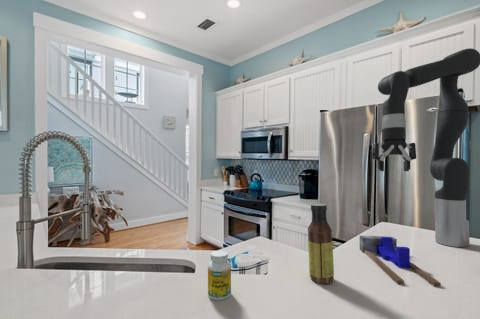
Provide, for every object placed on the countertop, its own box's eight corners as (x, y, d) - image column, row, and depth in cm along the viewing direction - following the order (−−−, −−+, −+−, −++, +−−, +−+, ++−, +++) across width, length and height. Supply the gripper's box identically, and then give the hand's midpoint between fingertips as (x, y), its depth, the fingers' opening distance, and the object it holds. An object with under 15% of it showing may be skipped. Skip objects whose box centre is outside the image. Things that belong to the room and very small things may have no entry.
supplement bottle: (228, 287, 61) (228, 248, 61) (232, 299, 56) (233, 256, 56) (206, 290, 60) (206, 250, 60) (208, 302, 55) (209, 258, 55)
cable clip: (376, 253, 86) (376, 236, 86) (390, 254, 85) (390, 236, 85) (393, 268, 74) (393, 247, 74) (409, 269, 73) (409, 248, 73)
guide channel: (392, 251, 88) (392, 236, 88) (442, 287, 62) (442, 266, 62) (359, 249, 89) (359, 235, 89) (395, 284, 63) (395, 264, 63)
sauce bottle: (333, 276, 67) (333, 203, 68) (334, 287, 62) (334, 206, 62) (308, 273, 70) (308, 201, 70) (307, 283, 64) (307, 205, 64)
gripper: (408, 128, 95) (409, 171, 95) (369, 129, 97) (369, 170, 97) (420, 125, 88) (420, 171, 87) (377, 126, 89) (377, 171, 89)
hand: (393, 171), depth 92 cm, fingers open, 8 cm apart
